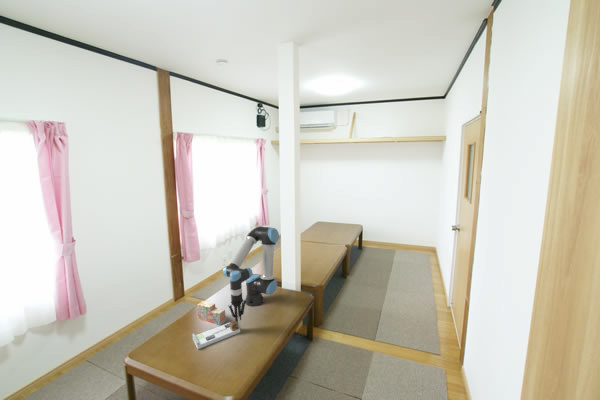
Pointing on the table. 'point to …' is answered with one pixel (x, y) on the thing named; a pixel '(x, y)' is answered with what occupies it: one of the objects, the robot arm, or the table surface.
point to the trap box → (213, 335)
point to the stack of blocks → (210, 313)
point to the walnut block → (234, 325)
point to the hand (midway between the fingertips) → (238, 324)
